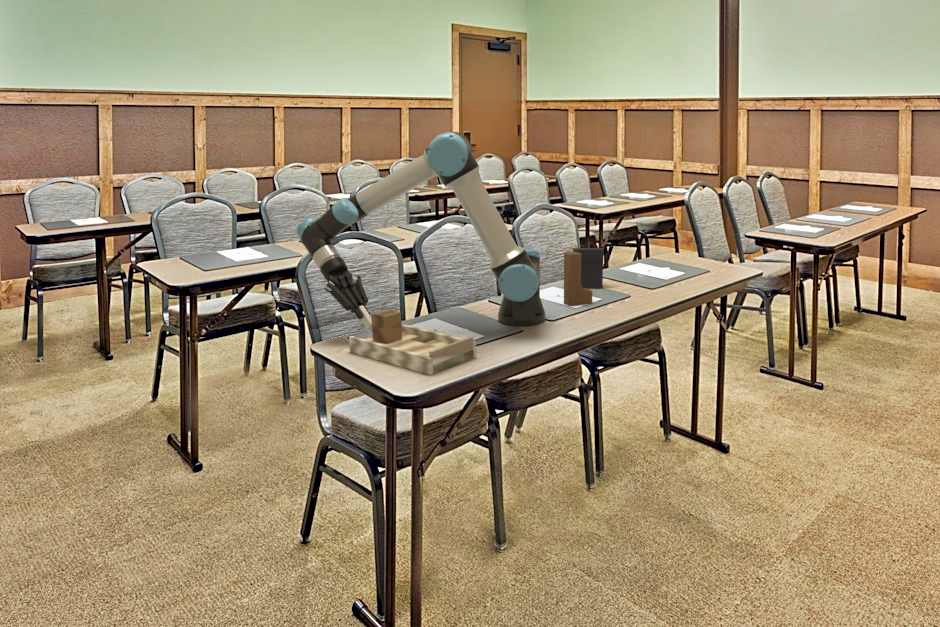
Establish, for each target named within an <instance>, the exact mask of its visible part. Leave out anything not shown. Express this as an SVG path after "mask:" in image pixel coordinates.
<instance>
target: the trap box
mask: <svg viewBox="0 0 940 627" xmlns="http://www.w3.org/2000/svg"><path fill="white" fill-rule="evenodd" d="M401 325H402V339H401V340H398V341H395V342H392V343H389V344H385V343H381V342H377V341H373V336H372V335H371V336H369V337H366V338H361V337H357V336H353V335H351V336H348V343H349V344H348V345H349V352H350V353H352V354H355V355H359V356H363V357H366V358H370V359H373V360H377V361H379V360H380V362H382V363H386V362H387V364H390V365H393V366H397V367H401V368H403V369H408V370H411V371H414V372H417V373H421V374H425V375H428V376H431V375H434V374H437V373H439V372H443V371H445V370H447V369H450V368H452V367H453V368H454V366H457V365H460V364H463V363H465V362H469V361H470V360H474V359H475V358H477V356H478V354H477V341H475V340H474V337H473V336H468V337H465V338H462V337H458V336H455V335H454V336H453V335H451V334H450V335H449V334H446V333H442V332H437V331H433V330H429V329H424V328H421V327H417V326H412V325H408V324H405V323H404V324H403V323H401Z"/></svg>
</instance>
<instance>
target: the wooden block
mask: <svg viewBox="0 0 940 627" xmlns="http://www.w3.org/2000/svg"><path fill="white" fill-rule="evenodd" d="M563 303H564V304H565V305H567V306H569V307H572V306H580V305H588V304H593V290H592V289H587V288H583V287H582V285H581V253H578V252H575V251H574V252H573V251H564V253H563Z"/></svg>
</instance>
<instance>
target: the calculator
mask: <svg viewBox="0 0 940 627" xmlns="http://www.w3.org/2000/svg"><path fill="white" fill-rule="evenodd" d="M574 251H575V252H578V253H581V285H582V287H583V288H587V289H589V290H592V289H593V290H594V289H595V290H596V289H603V280H604V278H603V277H604V276H603V275H604V274H603V273H604V249H603V248H602V247H574V248H572V252H574Z"/></svg>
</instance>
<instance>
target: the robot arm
mask: <svg viewBox="0 0 940 627" xmlns="http://www.w3.org/2000/svg"><path fill="white" fill-rule="evenodd" d="M479 170H480V165H479V163H478V162H477V160H476V158H475V157H474V154H473V146H472V143H471V141H470V140H469V139H468V137H467V136H465V134H463V133H461V132H458V131H448V132H442V133H440V134H438V135H436V136H435V137H434V138H433V139H432V140H431V142H430V143H429V145H428V147H427V148H426V149H424V150H423V154H422V155H420V156H418V157H416V158H414V159H413V160H412V161H410V162H407V164H405V165H403V166H402V167H400V168H397V169H396V170H395V171H393V172H392V173H390V174H388V175H386V176H385V177H383V178H380V179H379V180H378V181H376V182H375V183H372V184H371V185H369V186H368V187H366V188H363V190H361V191H358V193H356V194H354V195H352V196H351V197H349V198H345V197H342V198H340V199H339V200H338V201H336V202H334V203H333V205H332V206H331V207H330V208H328V210H326V212H324V213H323V214H322V215H321V216H320V217H319V218H314V217H310V218H306V219H305V220H302V221H301V222H299V224H298V225H297V227H296V234H297V236H298V238H299V239H300V242H301V244H302V245H303V246H304V248H305V249H306V250H307V253H308V254H309V255H310V256H311V259H312V260H313V262H314V263H315V264H316V267H317V268H318V269H319V271H320V273H321V274H322V276H323V277H324V279H325V280H326V281H327V283H326V285H325V286H324V290H325V291H326V292H328V293H329V294H330V295H331V296H332V297H333V298H334V299H335V300H336V301H337V302H338V303H339V304H340V305H341V307H342V308H343V309H344V310H345V311H347V312H349V311H350V313H351V314H355V316H356V318H357V319H358V320H360V321H361V322H362V325H363V326H364V327H365V329H366V330H368V329H372V320H371V313H370V311H369V309H368V307H366V305H367V304H368V303H369V298H368V297H367V293H366V290H365V289H364V285H363V283H362V277H361V275H357V276H354V275H353V274H352V273H351V272H350V271H349V270H348V269H349V268H348V266H347V263H346V262H345V261H344V259H343V258H342V257H341V254H340V252H339V251H338V250H337V248H336V247H335V245H334V244H333V242H332V241H333V240H334V239H335V238H336V237H337V236H338V235H339V234H341V233H342V232H344V230H346V229H347V228H348V227H350V226H352V225H353V224H356V223H357V222H359V221H361V220H362V219H364V218H365V217H367V216H369V215H370V214H372V213H374V212H376V211H377V210H380V209H381V208H383V207H384V206H386V205H388V204H390V203H391V202H393V201H395V200H397V199H398V198H400V197H402V196H403V195H405V194H407V193H408V192H411V191H412V190H414V189H415V188H418V187H419V186H421V185H423V184H424V183H426V182H428V181H431V179H433V178H435V177H438V178H439V179H440V181H441V182H442V184H443V186H444V188H448V189H451V190H452V191H453V192H454V193H453V194H455V197H456V199H457V200H458V202H459V203H460V206H461V207H462V209H463V212H464V213H465V214H466V216H467V218H468V221H470V223H471V225H472V227H473V228H474V230H475V232H476V234H477V236H478V237H479V239H480V241H481V243H482V244H483V247H484V249H485V250H486V252H487V254H488V256H489V258H490V259H491V262H490V265H489V267H490V270H492V273H493V274H494V276H495V278H496V280H497V282H498V283H497V285H498V288H499V291H500V293H501V294H502V295H503V296H502V300H501V302H500V306H499V309H498V312H497V321H498V322H500V324H501V323H502V324H504V325H509V326H517V327H518V326H519V327H523V326H524V327H525V326H526V327H527V326H535V325H539V324H542V323H543V322H545V321H546V311H545V309H544V306H543V303H542V300H541V296H540V295H541V294H540V289H541V287H540V285H541V284H540V279H541V278H540V276H541V275H540V273H541V271H540V269H541V268H540V263H541V262H540V261H541V256H540V252H539V250H538V249H534V248H533V249H532V248H531V249H530V248H525V247H522V246H519V245H517V243H516V242H515V239H514V238H513V236H512V234H511V232H510V230H509V229H508V226H507V225H506V223H505V222H504V219H503V218H502V215H501V214H500V213H499V210H498V209H497V206H495V204H494V201H493V200H492V198H491V196H490V194H489V193H488V191H487V189H486V187H485V185H484V183H483V181H482V179H481V178H480V176H479V172H480V171H479Z"/></svg>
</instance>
